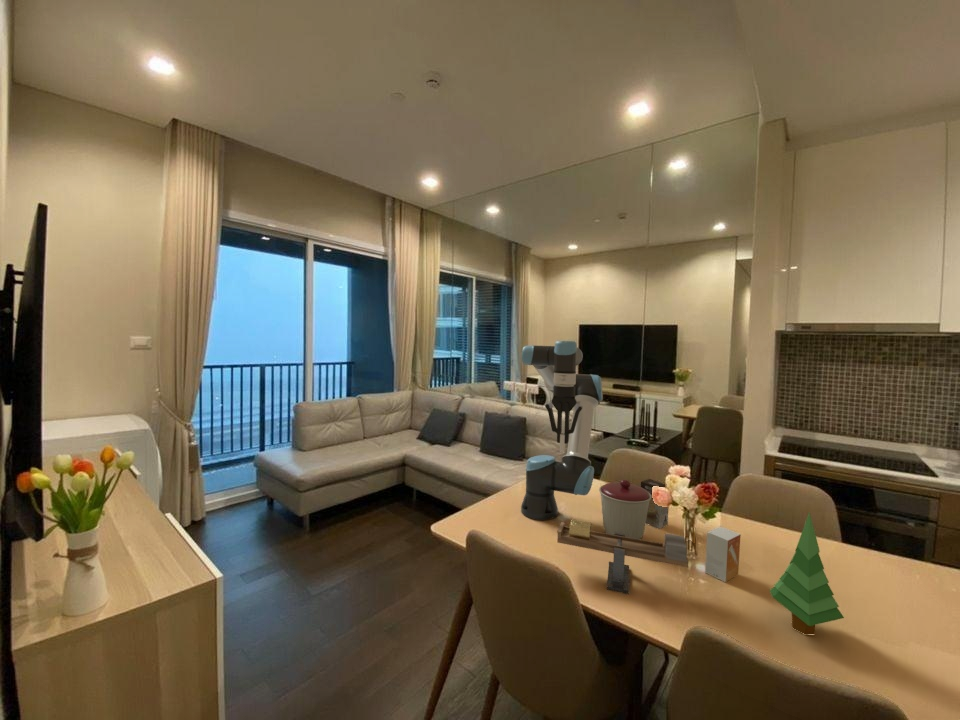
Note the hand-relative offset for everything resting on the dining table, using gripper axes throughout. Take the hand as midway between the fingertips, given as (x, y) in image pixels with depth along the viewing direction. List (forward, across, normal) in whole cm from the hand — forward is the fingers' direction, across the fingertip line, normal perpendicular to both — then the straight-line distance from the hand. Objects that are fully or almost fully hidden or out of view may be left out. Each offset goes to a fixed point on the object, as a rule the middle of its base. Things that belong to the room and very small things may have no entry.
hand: (562, 452), depth 140 cm
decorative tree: (+33, +64, -20) cm, 75 cm away
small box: (+33, +50, 0) cm, 60 cm away
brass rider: (+22, +8, -15) cm, 28 cm away
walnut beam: (+22, +20, -15) cm, 34 cm away
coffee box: (+33, +32, +30) cm, 55 cm away
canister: (+33, +21, +14) cm, 41 cm away
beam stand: (+32, +20, -15) cm, 41 cm away
